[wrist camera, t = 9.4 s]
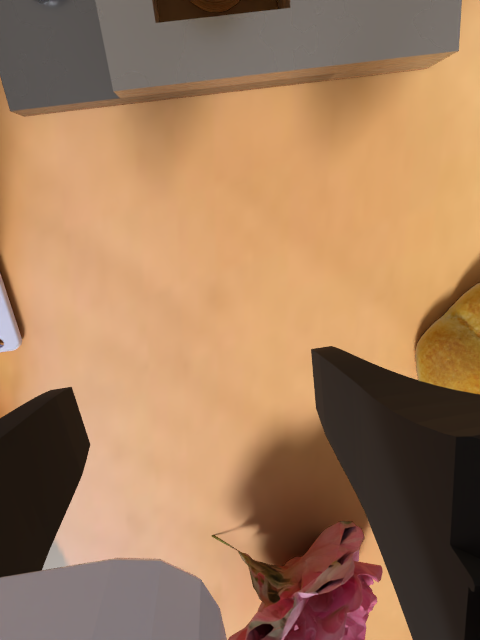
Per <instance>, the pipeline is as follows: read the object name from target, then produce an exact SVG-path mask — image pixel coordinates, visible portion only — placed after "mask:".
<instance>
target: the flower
mask: <svg viewBox="0 0 480 640" xmlns="http://www.w3.org/2000/svg"><path fill="white" fill-rule="evenodd" d="M212 537H213V538H215V539H217V540H219V541H221V542H222V543H224V544H226V545H228V546H230V547H232V546H231V545H229V544H228V543H226V542H224V541H223V540H221V539H220V538H218V537H216V536H215V535H212ZM363 540H364V534H363V531H362V529H361V528H360V527H358V526H356V525H355V524H354V523H353V522H350V521H340V522H338V523H336V524H334V525H332V526H330V527H328V528H327V529H325V530H324V531H323V532H322V533H321V534H320V536H319V537H318V538H317V539H316V541H315V542H314V543H313V545H312V546H311V547H310V548H309V550H308V551H307V552H306V553H305V554H304V555H303V556H302V557H294V558H292V559H291V560H289V561H287V562H286V564H285V565H284V566H276V565H268V564H266V563H263V562H258V561H255V560H253V559H252V558H251V557H250V556H249V555H248V554H245V553H242V552H240V551H238V550H237V549H236V550H237V551H238V552H239V554H240V556H241V558H242V559H243V561H244V562H245V563H246V564H247V565H248V566H249V570H250V575H251V579H252V584H253V587H254V589H255V590H256V592H257V594H258V596H259V598H260V600H261V601H262V603H261V605H260V607H259V609H258V612H257V613H256V615H255V616H254V617H253V618H252V620H251V621H250V623H249V624H248V625H247V626H246V627H245V628H244V629H242V630H240V631H239V632H237V633H235V634H234V635H232V636H231V637H230V638H229V639H228V640H365V633H366V625H365V623H366V621H367V618H368V616H369V615H368V614H369V612H370V611H372V609H373V607H374V605H375V604H376V603H377V597H376V596H375V595H374V594H373V592H372V589H371V588H370V587H369V585H370V584H373V583H374V582H373V579H374V580H375V581H377V582H379V581H380V580H381V576H382V567H381V566H380V565H374V564H368V563H363V562H358V561H359V549H360V546H361V544H362V542H363ZM232 548H234V547H232ZM234 549H235V548H234Z"/></svg>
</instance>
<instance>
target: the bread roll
mask: <svg viewBox="0 0 480 640" xmlns="http://www.w3.org/2000/svg"><path fill="white" fill-rule="evenodd" d="M415 356H416V368H417V376H418V380H419V381H422V382H426V383H430V384H433V385H437V386H441V387H445V388H449V389H454V390H459V391H464V392H470V393H475V394H480V282H479V283H478V284H476V285H475V286H473V287H472V288H471V289H470V290H468V291H467V292H466V293H465V294H463V295H462V296H461V297H460V298H459V299H458V300H457V301H456V303H455V304H454V305H452V306H451V307H450V308H449V310H448V311H447V312H446V313H445V314H444V315H443V316H442V317H441V318H439V319H438V320H437V321H435V322H434V323H433V324H432V325H431V326H430V328H429V329H428V330H427V331H426V332H425V333H424V334H423V336H422V337H421V339H420V340H419V342H418V344H417V347H416V354H415Z"/></svg>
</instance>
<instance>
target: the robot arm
mask: <svg viewBox="0 0 480 640" xmlns="http://www.w3.org/2000/svg"><path fill="white" fill-rule="evenodd" d="M0 339H1V340H3V342H4V345H1V344H0V352H5V351H12V350H15V349H17V348H18V347H19V346H20V345H21V343H22V338H21V335H20V332H19V329H18V326H17V323H16V319H15V316H14V313H13V310H12V307H11V304H10V301H9V298H8V295H7V292H6V289H5V286H4V283H3V280H2V277H1V274H0ZM311 354H312V365H313V377H314V389H315V400H316V409H317V412H318V415H319V418H320V421H321V424H322V426H323V429H324V432H325V435H326V437H327V439H328V441H329V443H330V445H331V447H332V448H333V450H334V452H335V454H336V456H337V458H338V460H339V462H340V464H341V466H342V468H343V470H344V471H345V473H346V475H347V477H348V479H349V481H350V483H351V485H352V487H353V489H354V490H355V492H356V494H357V496H358V498H359V500H360V503H361V505H362V507H363V509H364V511H365V514H366V516H367V519H368V521H369V524H370V526H371V529H372V531H373V534H374V536H375V539H376V541H377V544H378V546H379V549H380V552H381V554H382V557H383V559H384V562H385V565H386V567H387V570H388V573H389V575H390V578H391V580H392V583H393V586H394V589H395V591H396V594H397V597H398V600H399V602H400V605H401V608H402V611H403V613H404V616H405V619H406V622H407V624H408V627H409V630H410V633H411V636H412V638H413V640H480V394H475V393H470V392H464V391H459V390H454V389H449V388H445V387H441V386H437V385H433V384H430V383H426V382H422V381H419V380H415V379H412V378H409V377H406V376H403V375H401V374H398V373H395V372H392V371H390V370H387V369H384V368H382V367H379V366H377V365H375V364H372V363H370V362H368V361H365V360H363V359H361V358H359V357H357V356H354V355H352V354H350V353H348V352H345V351H343V350H341V349H338V348H336V347H333V346H329V347H323V348H316V349H311ZM89 447H90V442H89V439H88V436H87V433H86V430H85V427H84V424H83V421H82V418H81V414H80V411H79V408H78V405H77V402H76V399H75V396H74V393H73V390H72V387H68V388H62V389H55V390H50V391H48V392H45V393H43V394H41V395H39V396H37V397H35V398H34V399H32V400H30V401H28V402H27V403H25V404H23V405H22V406H20V407H18V408H17V409H15V410H13V411H12V412H10V413H8V414H7V415H5V416H3V417H2V418H0V640H227V638H226V634H225V629H224V625H223V621H222V616H221V612H220V608H219V606H218V605H217V603H216V602H215V600H214V599H213V597H212V596H211V594H210V593H209V591H208V590H207V588H206V586H205V585H204V583H203V582H202V580H201V579H199V578H198V577H196V576H195V575H193V574H190V573H188V572H186V571H184V570H182V569H180V568H178V567H176V566H173V565H171V564H169V563H167V562H165V561H163V560H161V559H136V558H114V559H108V560H102V561H96V562H90V563H84V564H78V565H72V566H66V567H60V568H54V569H48V570H42V568H43V565H44V562H45V560H46V558H47V555H48V552H49V550H50V547H51V545H52V543H53V541H54V538H55V536H56V534H57V531H58V529H59V527H60V525H61V522H62V520H63V518H64V516H65V513H66V511H67V509H68V507H69V504H70V502H71V500H72V497H73V495H74V493H75V490H76V488H77V486H78V483H79V481H80V479H81V476H82V473H83V470H84V466H85V463H86V459H87V455H88V451H89Z"/></svg>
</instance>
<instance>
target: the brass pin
mask: <svg viewBox="0 0 480 640" xmlns="http://www.w3.org/2000/svg"><path fill="white" fill-rule="evenodd" d="M190 1H191V2H192V3H193V4H194V5H196V6H197V7H199V8H200V9H202V10H205V11H208V12H215V13H216V12H223V11H226V10H229V9H230V8H232V7H234V6H235V5H236V4H237V3H238V2H239V1H240V0H190Z"/></svg>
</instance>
